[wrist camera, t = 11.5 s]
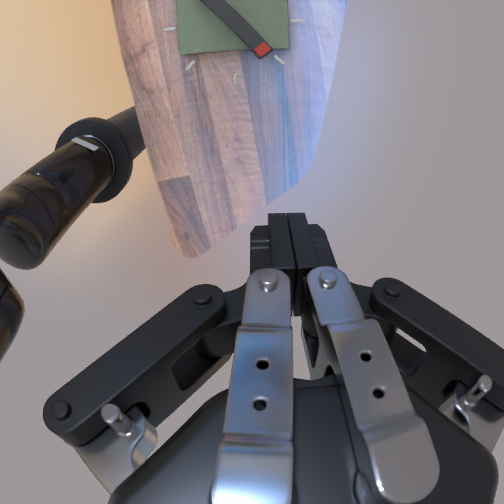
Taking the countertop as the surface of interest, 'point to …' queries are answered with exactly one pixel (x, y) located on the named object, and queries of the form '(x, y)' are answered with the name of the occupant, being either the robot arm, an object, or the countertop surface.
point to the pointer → (239, 27)
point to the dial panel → (221, 36)
